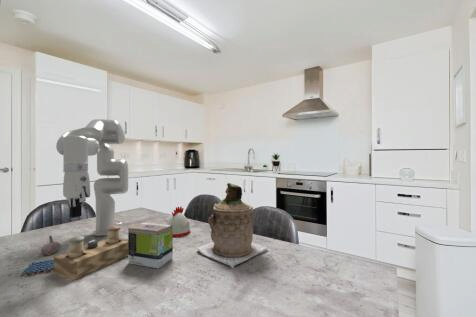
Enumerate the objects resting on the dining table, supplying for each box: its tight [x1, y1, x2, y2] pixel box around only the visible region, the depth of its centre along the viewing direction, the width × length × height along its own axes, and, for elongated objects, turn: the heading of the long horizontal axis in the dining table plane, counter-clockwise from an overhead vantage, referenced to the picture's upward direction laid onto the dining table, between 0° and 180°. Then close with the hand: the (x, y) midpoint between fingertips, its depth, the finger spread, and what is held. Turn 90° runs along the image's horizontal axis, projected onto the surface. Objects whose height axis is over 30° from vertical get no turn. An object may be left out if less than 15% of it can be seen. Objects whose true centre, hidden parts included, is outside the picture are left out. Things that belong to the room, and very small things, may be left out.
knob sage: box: [67, 236, 85, 260], centre depth 84 cm, size 5×5×8 cm
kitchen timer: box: [166, 206, 191, 238], centre depth 127 cm, size 14×14×15 cm
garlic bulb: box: [40, 235, 61, 256], centre depth 100 cm, size 8×7×8 cm
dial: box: [86, 239, 99, 249], centre depth 91 cm, size 4×4×3 cm
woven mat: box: [19, 258, 54, 278], centre depth 86 cm, size 10×11×2 cm
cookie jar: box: [195, 182, 268, 269], centre depth 101 cm, size 25×25×32 cm
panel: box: [53, 237, 128, 281], centre depth 90 cm, size 24×12×6 cm, turn 154°
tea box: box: [127, 221, 174, 269], centre depth 92 cm, size 15×10×15 cm
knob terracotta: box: [107, 226, 121, 245], centre depth 97 cm, size 5×5×8 cm
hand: (75, 216), depth 83 cm, fingers closed
